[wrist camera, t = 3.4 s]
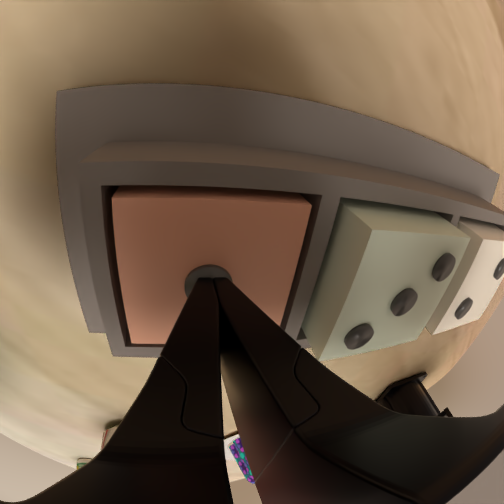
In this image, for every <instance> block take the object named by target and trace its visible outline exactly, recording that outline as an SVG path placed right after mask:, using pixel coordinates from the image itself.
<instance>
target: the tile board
mask: <svg viewBox="0 0 504 504" xmlns="http://www.w3.org/2000/svg"><path fill="white" fill-rule="evenodd" d="M55 136H56V166H57V180H58V191H59V200H60V208H61V216H62V223H63V229H64V235H65V241H66V246H67V251H68V256H69V261H70V265H71V270H72V274H73V278H74V282H75V286H76V290H77V294H78V297H79V301H80V305H81V308H82V311H83V315H84V318H85V321H86V324H87V327H88V330H89V332H91V333H106V336H107V339H108V342H109V346H110V349H111V352H112V355H113V356H118V357H153V358H158V357H160V353H161V351H162V349H163V347H164V345H165V344H136V343H132V342H131V338H130V333H129V329H128V324H127V319H126V314H125V308H124V303H123V297H122V291H121V285H120V278H119V271H118V264H117V256H116V247H115V237H114V226H113V213H112V197H113V195H114V194H115V192H116V190H117V189H118V187H119V186H120V185H177V186H208V187H229V188H246V189H261V190H274V191H286V192H297V193H299V194H301V195H302V196H303V197H304V198H305V199H306V200H307V201H308V202H309V203H310V204H311V205H312V207H311V211H310V215H309V219H308V223H307V227H306V232H305V236H304V240H303V243H302V247H301V251H300V255H299V259H298V263H297V267H296V270H295V274H294V278H293V282H292V285H291V289H290V293H289V296H288V300H287V303H286V307H285V310H284V314H283V317H282V321H281V324H280V327H281V328H282V329H283V330H284V331H285V332H286V333H287V334H288V335H290V336H291V337H292V338H293V339H294V340H295V341H296V342H297V343H298V344H300V345H301V348H311V346H310V344H309V342H308V340H307V338H306V336H305V334H304V331H303V329H302V327H301V325H302V322H303V319H304V316H305V313H306V310H307V307H308V304H309V301H310V298H311V295H312V292H313V289H314V286H315V283H316V280H317V277H318V274H319V271H320V268H321V264H322V261H323V258H324V255H325V251H326V248H327V244H328V241H329V238H330V234H331V231H332V227H333V224H334V220H335V216H336V213H337V209H338V205H339V202H340V198H341V197H344V198H352V199H360V200H368V201H375V202H382V203H389V204H395V205H402V206H408V207H414V208H420V209H425V210H431V211H434V212H435V213H437V214H438V215H440V216H441V217H443V218H444V219H446V220H447V221H448V222H450V223H451V224H453V225H454V226H455V227H457V224H458V222H459V219H460V216H462V217H467V218H472V219H477V220H481V221H486V222H490V223H493V224H494V225H496V226H497V227H498V228H500V229H501V230H503V231H504V212H503V211H502V210H500V209H499V208H497V207H496V206H494V205H492V204H491V201H492V198H493V195H494V192H495V189H496V186H497V182H498V179H499V174H498V173H496V172H494V171H493V170H491V169H489V168H487V167H485V166H484V165H482V164H480V163H478V162H476V161H474V160H473V159H471V158H469V157H467V156H465V155H463V154H461V153H459V152H457V151H455V150H452V149H450V148H448V147H446V146H444V145H442V144H439V143H437V142H435V141H433V140H430V139H428V138H426V137H423V136H421V135H418V134H416V133H413V132H411V131H408V130H406V129H403V128H400V127H398V126H395V125H392V124H389V123H386V122H384V121H381V120H378V119H375V118H371V117H368V116H365V115H362V114H359V113H355V112H352V111H348V110H345V109H341V108H337V107H334V106H330V105H326V104H322V103H318V102H313V101H309V100H304V99H300V98H295V97H290V96H284V95H279V94H273V93H267V92H261V91H254V90H247V89H239V88H230V87H220V86H209V85H194V84H167V83H143V84H117V85H103V86H92V87H83V88H75V89H67V90H61V91H57V98H56V127H55Z"/></svg>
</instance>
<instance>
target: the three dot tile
mask: <svg viewBox="0 0 504 504" xmlns="http://www.w3.org/2000/svg"><path fill="white" fill-rule="evenodd" d="M469 241H470V237H469V236H468V235H466V234H465V233H464V232H462V231H461V230H460V229H458V228H457V227H455V226H454V225H453V224H451V223H450V222H448V221H447V220H446V219H444V218H443V217H441V216H440V215H438V214H437V213H435V212H434V211H431V210H425V209H420V208H414V207H408V206H402V205H395V204H389V203H382V202H375V201H368V200H360V199H352V198H344V197H341V198H340V202H339V205H338V209H337V213H336V216H335V220H334V224H333V227H332V231H331V234H330V238H329V241H328V244H327V248H326V251H325V255H324V258H323V261H322V264H321V268H320V271H319V274H318V277H317V280H316V283H315V286H314V289H313V292H312V295H311V298H310V301H309V304H308V307H307V310H306V313H305V316H304V319H303V322H302V325H301V327H302V329H303V331H304V334H305V336H306V338H307V340H308V342H309V344H310V346H311V348H312V350H313V352H314V355H315V357H316V359H317V360H318V361H325V360H331V359H336V358H342V357H347V356H352V355H357V354H361V353H366V352H370V351H375V350H379V349H383V348H387V347H391V346H395V345H399V344H403V343H407V342H410V341H414V340H417V338H418V337H419V335H420V333H421V332H422V330H423V329H424V327H425V326H426V324H427V322H428V321H429V319H430V317H431V316H432V314H433V312H434V311H435V309H436V307H437V305H438V304H439V302H440V300H441V298H442V296H443V295H444V293H445V291H446V289H447V287H448V285H449V283H450V281H451V279H452V278H453V276H454V274H455V271H456V269H457V267H458V265H459V263H460V261H461V259H462V257H463V255H464V252H465V250H466V248H467V246H468V243H469Z"/></svg>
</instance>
